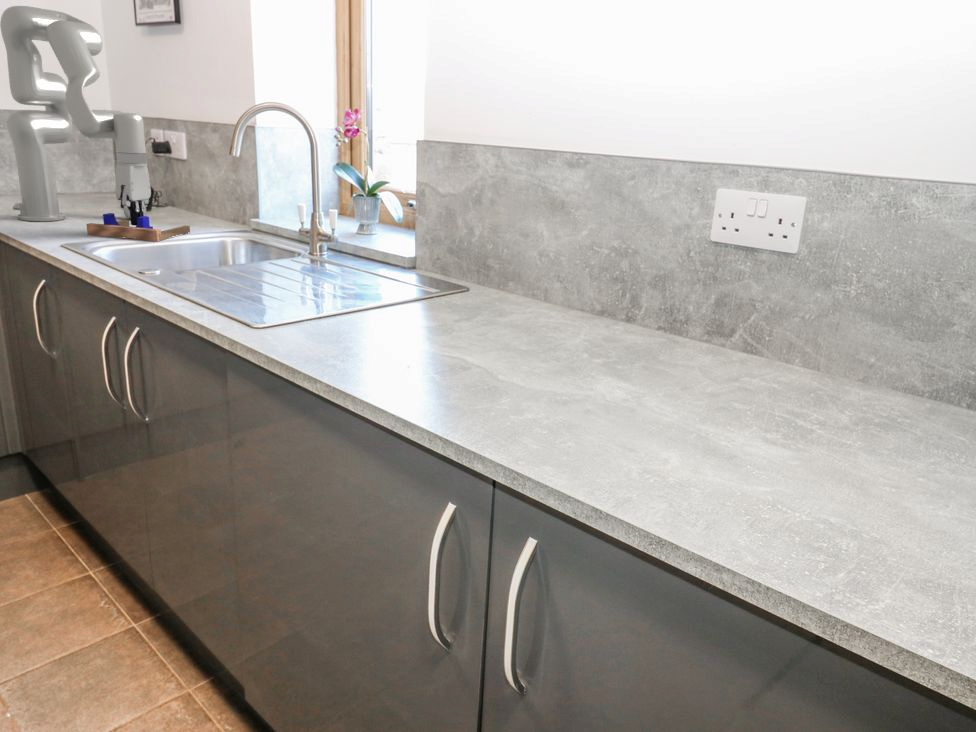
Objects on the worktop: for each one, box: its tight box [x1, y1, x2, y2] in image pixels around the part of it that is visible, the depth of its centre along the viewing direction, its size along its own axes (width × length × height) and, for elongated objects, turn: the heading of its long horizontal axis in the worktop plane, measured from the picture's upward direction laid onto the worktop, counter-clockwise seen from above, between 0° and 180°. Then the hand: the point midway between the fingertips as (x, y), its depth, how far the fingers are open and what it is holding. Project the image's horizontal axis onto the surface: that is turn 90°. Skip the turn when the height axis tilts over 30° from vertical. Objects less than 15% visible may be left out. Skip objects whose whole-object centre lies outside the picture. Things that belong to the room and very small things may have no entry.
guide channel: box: [85, 219, 191, 242], centre depth 214 cm, size 21×17×3 cm
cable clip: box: [102, 212, 154, 229], centre depth 210 cm, size 12×4×6 cm, turn 82°
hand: (137, 225), depth 213 cm, fingers closed
